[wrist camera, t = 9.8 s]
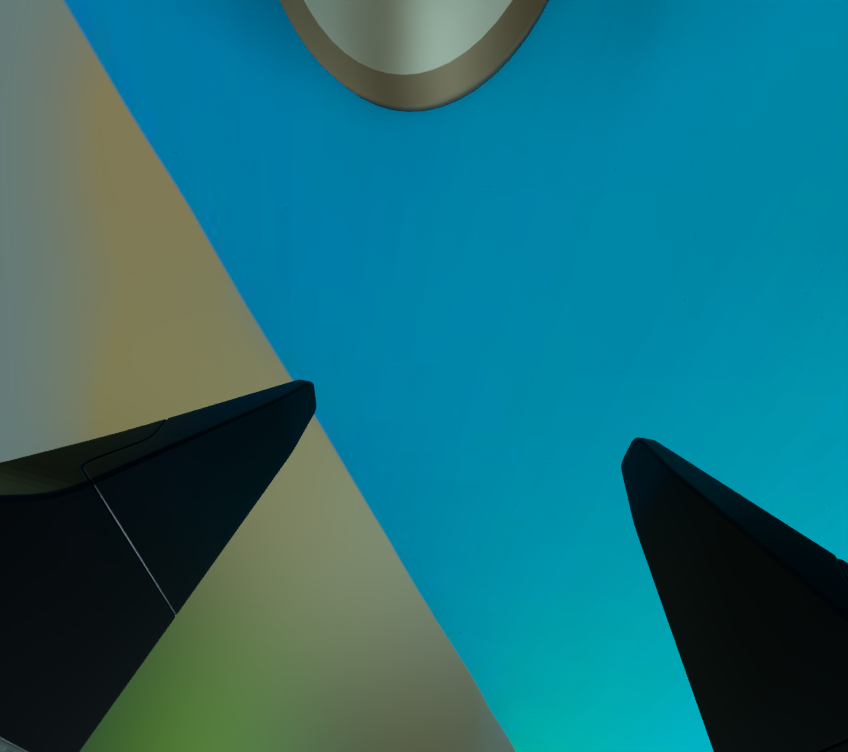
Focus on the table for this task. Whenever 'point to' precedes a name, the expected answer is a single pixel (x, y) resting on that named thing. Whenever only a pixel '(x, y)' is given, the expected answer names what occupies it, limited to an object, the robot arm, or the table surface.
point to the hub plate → (413, 45)
